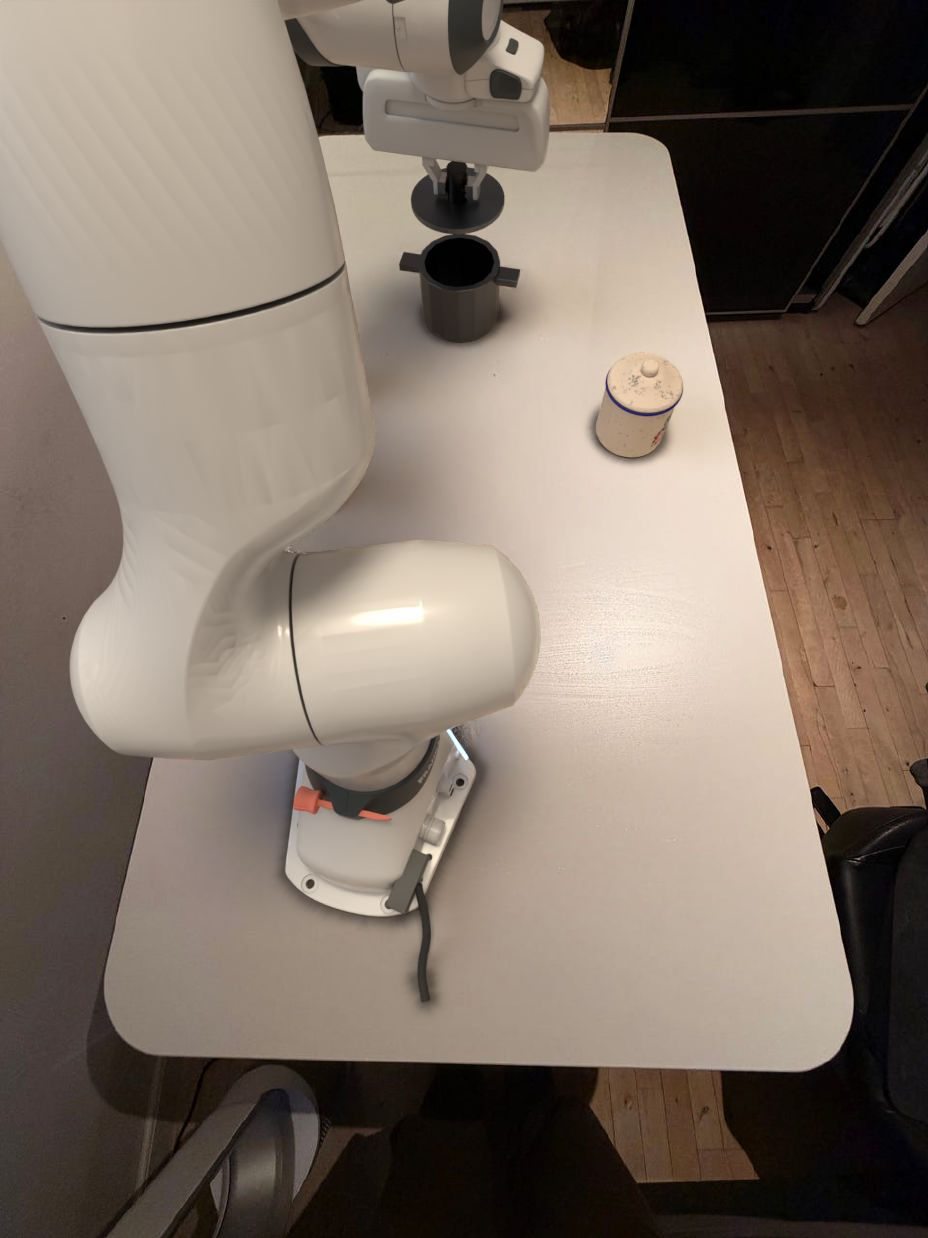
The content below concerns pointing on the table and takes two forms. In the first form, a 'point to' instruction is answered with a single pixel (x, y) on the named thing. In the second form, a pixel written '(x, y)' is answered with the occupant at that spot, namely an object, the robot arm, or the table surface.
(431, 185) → the lid
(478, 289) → the pot
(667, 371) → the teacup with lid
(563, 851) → the table surface
